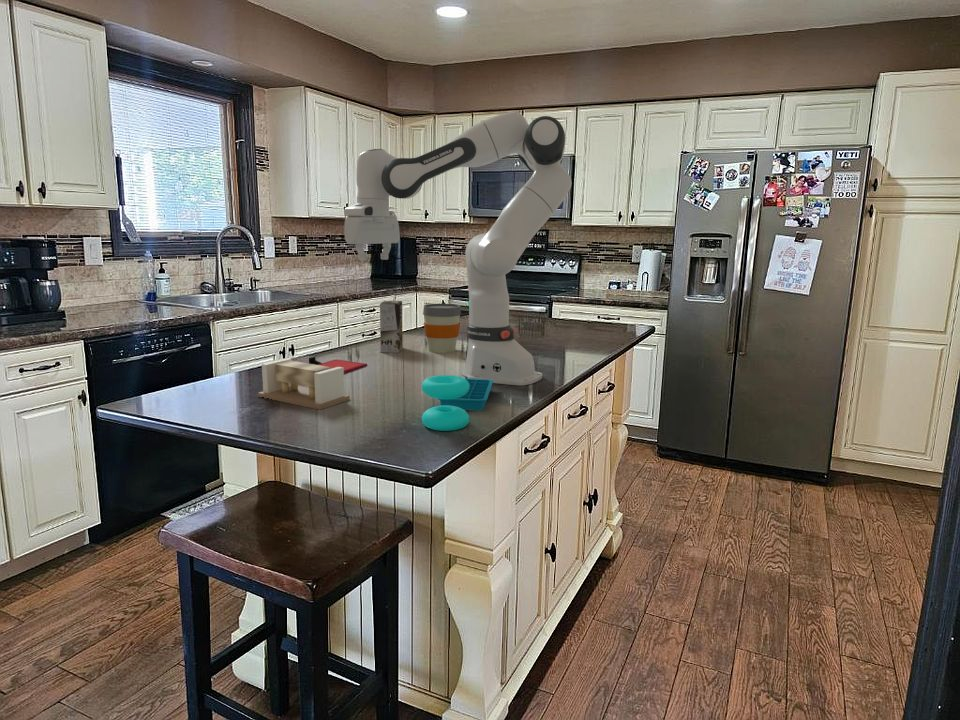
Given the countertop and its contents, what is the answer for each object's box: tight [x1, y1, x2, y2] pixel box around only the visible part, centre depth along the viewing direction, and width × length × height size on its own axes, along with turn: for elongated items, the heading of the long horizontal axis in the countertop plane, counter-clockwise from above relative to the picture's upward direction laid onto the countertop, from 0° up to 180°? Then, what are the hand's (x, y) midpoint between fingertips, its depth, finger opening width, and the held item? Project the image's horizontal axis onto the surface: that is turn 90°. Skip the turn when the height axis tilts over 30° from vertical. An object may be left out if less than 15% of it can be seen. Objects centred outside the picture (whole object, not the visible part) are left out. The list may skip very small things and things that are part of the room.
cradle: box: [257, 357, 350, 411], centre depth 153 cm, size 20×10×8 cm, turn 60°
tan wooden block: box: [275, 360, 331, 388], centre depth 152 cm, size 13×5×4 cm, turn 60°
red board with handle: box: [308, 356, 368, 375], centre depth 179 cm, size 30×3×15 cm
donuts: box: [421, 374, 470, 432], centre depth 134 cm, size 10×10×10 cm
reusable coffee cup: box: [422, 303, 462, 354], centre depth 212 cm, size 13×13×15 cm
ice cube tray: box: [438, 377, 494, 411], centre depth 155 cm, size 12×20×3 cm, turn 174°
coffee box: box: [379, 300, 403, 354], centre depth 211 cm, size 9×6×16 cm
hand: (374, 260), depth 181 cm, fingers open, 8 cm apart
